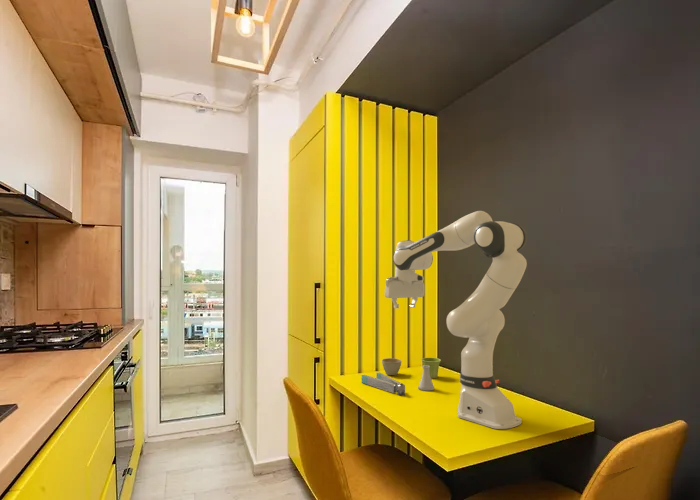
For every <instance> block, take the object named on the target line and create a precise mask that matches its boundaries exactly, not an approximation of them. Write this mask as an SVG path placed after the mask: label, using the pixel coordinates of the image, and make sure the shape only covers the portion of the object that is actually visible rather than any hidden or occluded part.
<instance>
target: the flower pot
mask: <svg viewBox="0 0 700 500" xmlns="http://www.w3.org/2000/svg"><path fill="white" fill-rule="evenodd" d="M381 364H382V368H383V370H384V372H385V375H386V376H390V375H395V376H397V375H398V373H399V372H400V369H401V366H402V360H401V359H399V358H394V357H393V358H392V357H390V358H389V357H387V358H383V359H381Z"/></svg>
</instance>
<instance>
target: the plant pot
mask: <svg viewBox="0 0 700 500" xmlns="http://www.w3.org/2000/svg"><path fill="white" fill-rule="evenodd" d="M441 361H442V360H441V359H440V358H437V357H423V358H421V362H422V366H430V368H429V373H430V377H431V380H432V379H438V375H439V369H440V363H441Z"/></svg>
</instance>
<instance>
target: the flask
mask: <svg viewBox="0 0 700 500" xmlns="http://www.w3.org/2000/svg"><path fill="white" fill-rule="evenodd" d="M429 368H430V366H423V365H422V374H421V375H422V376H421V380H420V382H419V383H418V384H419V385H418V387H417V389H419V390H420V391H427V392H429V391H430V392H431V391H434V390H435V386H434V383H433V381H432V378H431V377H430V373H429Z"/></svg>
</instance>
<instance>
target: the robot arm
mask: <svg viewBox="0 0 700 500" xmlns="http://www.w3.org/2000/svg"><path fill="white" fill-rule="evenodd" d="M527 241H528V233H527V231H526V230H525V228H524V227H522V226H521V225H519V224H517V223H514V222H506V221H503V220H502V221H499V220H498V221H496V220H495V221H493V219H492V216H491V215H490V214H489V213H487V212H486V211H484V210H477V211H474V212H471V213H469V214H466V215H464V216H462V217H461V218H458V219H457V220H456V221H454V222H453V223H450V224H449V225H446V226H445V227H443V228H441V229H439V230H438V231H435V232H434V233H433V232H432V233H431V234H429V235H427V236H424V237H422V238H420V239H419V240H417V241H415V242H414V241H413V240H409V239H407V240H400V241H399V242H398V243H397V244H396V247H395V251H394V253H393V255H392V262H393V264H394V265H395V269H394V272H395V274H394V276H388V277H387V278H386V280H385V288H384V297H385V298H386V299H391V302H392V303H393V308H394V309H399V307H400V304H398V302H397V301H398V299H410V298H411V300H412V302H411V303H409V304H410V305H409V306H410V308H416V303H417V302H418V298H423V297H424V296H425V283H424V279H425V277H424V275H421V274H419V273H417V272H416V271H420V270H421V271H424V270H428V269H429V268H430V267H431V266H432V264H433V262H434V256H433V253H434V252H440V251H445V252H446V251H447V252H448V251H454V252H455V251H460V250H464V249H467V248H469V247H471V246H474V245H476V247H477V248H478V249H479V250H480V251H481V252H483V254H484V255H485V256H486V257H487V258H490V259H492V262H491V264H490V266H489V267H488V270H487V271H486V273H485V274H484V276H483V278H482V279H481V281H480V283H479V284H478V286H477V287H476V289H475V290H474V291H473V292H472V293H471V294H470V295H469V296H468V297H467V298H466V299H465V300H464V302H462V303H461V304H460V305H459V306H457V307H456V308H455V309H453V310H451V311H450V312H449V313H448V314H447V316H446V327H447V330H448V331H449V333H451V335H453V336H455V337H459V338H466V339H467V338H468V341H467V343H466V345H465V346H464V347H463V348H462V350H461V353H460V358H461V359H460V360H461V361H460V364H461V365H460V367H461V368H460V369H461V371H460V373H459V379H460V380H459V382H460V385H461V386H460V396H459V402H458V406H457V412H456V413H458V414H457V417H458V418H460V419H462V420H466V421H469V422H472V423H474V424H478V425H481V426H485V427H488V428H492V429H494V430H507V429H512V428H514V427H518V426H520V425H521V424H522V422H523V421H522V420H523V419H522V418H521V417H518V416H517V415H516V414H515V408H514V405H513V403H512V401H510V399H509V398H508V397H507V396H506V395H505V394H504V392H502V390H500V389H499V388H498V383H500V379H496V378H495V376H494V374H493V373H494V371H493V369H494V368H493V367H494V365H493V363H494V361H493V357H494V349H495V346H496V342H497V339H498V336H499V334H500V332H501V331H502V330H503V329H504V327H505V323H506V319H505V315H504V313H503V312H502V310H501V309H503V308H504V307H505V306H506V304H507V303H508V302H509V301H510V298H511V297H512V295H513V294H514V292H515V290H516V289H517V287H518V286H519V284H520V282H521V280H522V278H523V277H524V273H525V271H526V269H527V266H528V264H527V258H525V256H523V254H522V253H520V252H519V251H520V250H522V249H523V248H524V247H525V246H526V244H527Z"/></svg>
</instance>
